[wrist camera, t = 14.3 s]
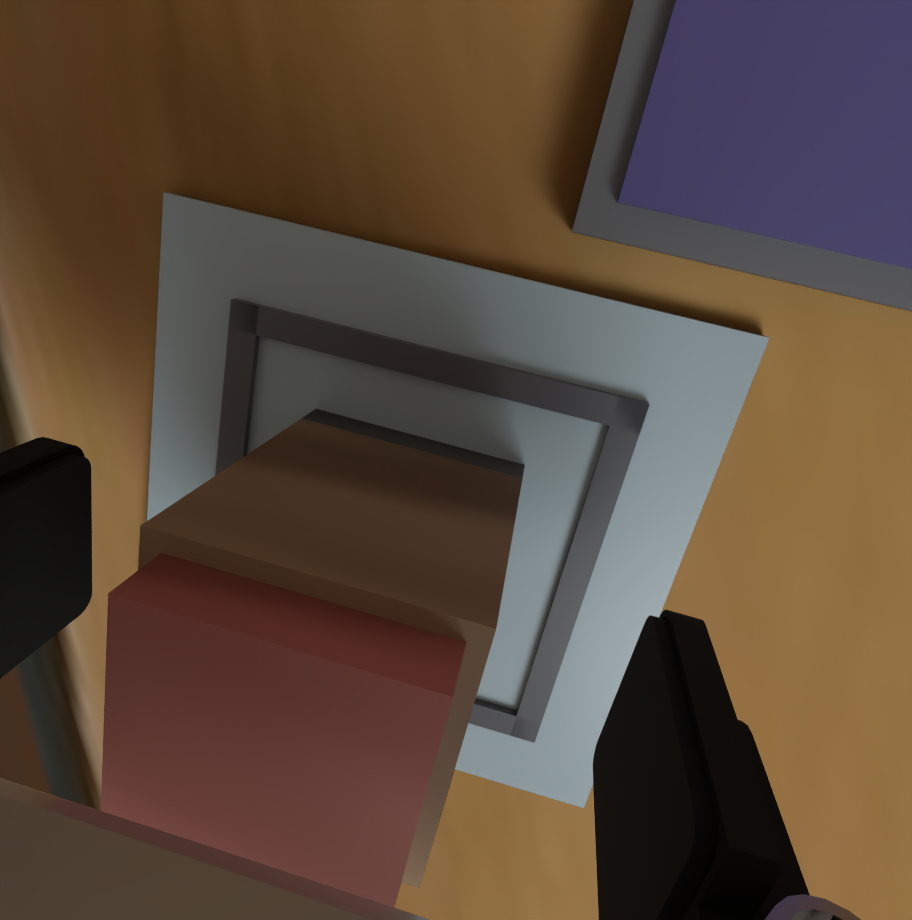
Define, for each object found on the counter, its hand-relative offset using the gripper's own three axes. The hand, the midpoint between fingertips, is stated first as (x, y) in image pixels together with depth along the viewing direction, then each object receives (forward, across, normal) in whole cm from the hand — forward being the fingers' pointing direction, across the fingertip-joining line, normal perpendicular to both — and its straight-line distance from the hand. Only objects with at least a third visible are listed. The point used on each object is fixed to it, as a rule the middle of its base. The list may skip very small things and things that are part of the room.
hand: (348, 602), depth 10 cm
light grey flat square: (+4, 0, +1) cm, 4 cm away
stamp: (+4, 0, +1) cm, 4 cm away
